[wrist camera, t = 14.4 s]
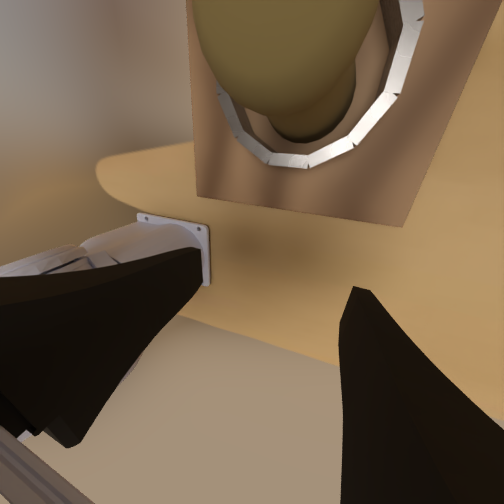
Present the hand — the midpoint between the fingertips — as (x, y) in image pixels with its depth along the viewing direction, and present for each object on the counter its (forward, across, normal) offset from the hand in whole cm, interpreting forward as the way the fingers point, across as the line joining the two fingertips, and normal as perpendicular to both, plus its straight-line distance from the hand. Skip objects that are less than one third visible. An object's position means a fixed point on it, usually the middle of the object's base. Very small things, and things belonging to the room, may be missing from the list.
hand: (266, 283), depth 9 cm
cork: (+10, +1, -9) cm, 14 cm away
